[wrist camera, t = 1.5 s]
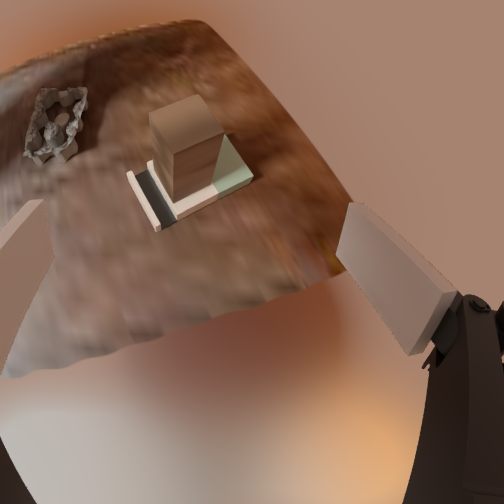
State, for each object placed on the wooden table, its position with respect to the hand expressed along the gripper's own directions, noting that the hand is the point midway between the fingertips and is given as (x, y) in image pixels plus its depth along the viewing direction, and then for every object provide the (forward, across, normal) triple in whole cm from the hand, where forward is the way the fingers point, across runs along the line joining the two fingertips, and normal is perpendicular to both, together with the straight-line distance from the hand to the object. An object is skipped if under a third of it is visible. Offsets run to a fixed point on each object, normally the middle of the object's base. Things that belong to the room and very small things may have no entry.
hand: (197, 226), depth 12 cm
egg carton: (+28, -17, 0) cm, 33 cm away
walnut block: (+21, -1, -5) cm, 21 cm away
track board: (+23, 0, -6) cm, 23 cm away
